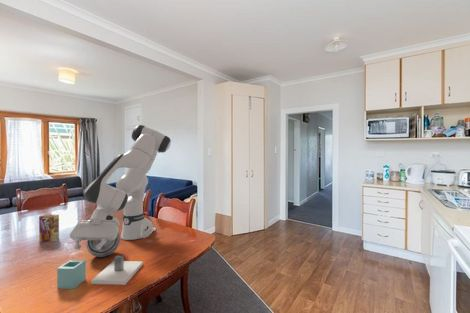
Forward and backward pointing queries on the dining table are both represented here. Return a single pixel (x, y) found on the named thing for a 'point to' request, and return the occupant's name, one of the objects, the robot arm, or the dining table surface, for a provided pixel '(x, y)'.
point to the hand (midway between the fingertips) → (87, 249)
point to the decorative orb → (103, 247)
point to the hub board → (117, 273)
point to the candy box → (48, 228)
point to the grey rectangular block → (118, 263)
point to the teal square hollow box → (71, 274)
